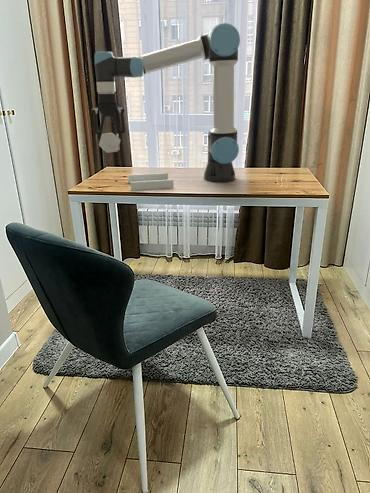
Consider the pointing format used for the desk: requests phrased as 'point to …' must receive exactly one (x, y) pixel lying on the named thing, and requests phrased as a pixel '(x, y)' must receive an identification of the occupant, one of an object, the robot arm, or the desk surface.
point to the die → (109, 142)
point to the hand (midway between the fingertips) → (111, 149)
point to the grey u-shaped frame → (150, 181)
